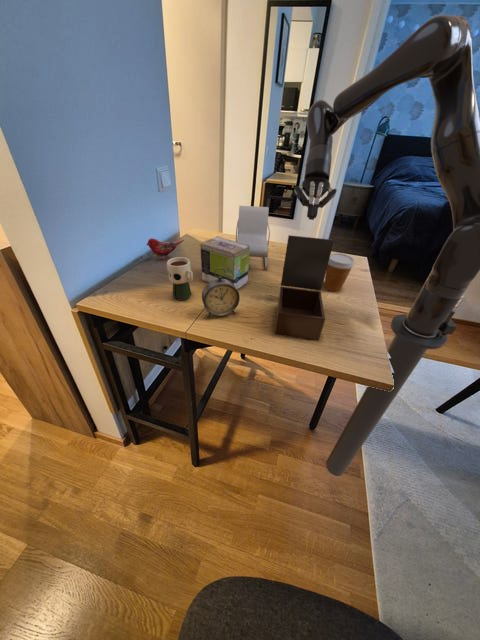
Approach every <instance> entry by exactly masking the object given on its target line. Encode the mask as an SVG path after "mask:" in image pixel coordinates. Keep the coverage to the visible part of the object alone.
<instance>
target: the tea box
mask: <svg viewBox="0 0 480 640" xmlns="http://www.w3.org/2000/svg"><path fill="white" fill-rule="evenodd" d="M199 245H200V266H201V279H202V281H205V282H207V283H209V282H211V281H213V280H215V279H219V278H217V277H218V276H221V277H222V276H223V275H224V273H225V271H226V273H225V275H224V276H223V277H222V278H221V279H226V280H229V281H230V282H232V283H233V284H234V286H235V287H236V289H237V290H239V289H241V287H243V286H244V285H246V284H247V283H248V281H249V280H248V279H249V266H250V257H249V251H250V246H249V245H246V244H243V243H239V242H236V240H232V239H229V238H224V237H220V236H219V235H216V236H214V237H212V238H210V239H207V240H205V241H202V242H200V243H199ZM219 267H222V268H224V269H225V271H224V270H223V269H221V268H220V269H217V268H219ZM216 269H217V270H216ZM215 270H216V272H215V275H216V276H217V277H216V276H215V275H214V271H215Z"/></svg>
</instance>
